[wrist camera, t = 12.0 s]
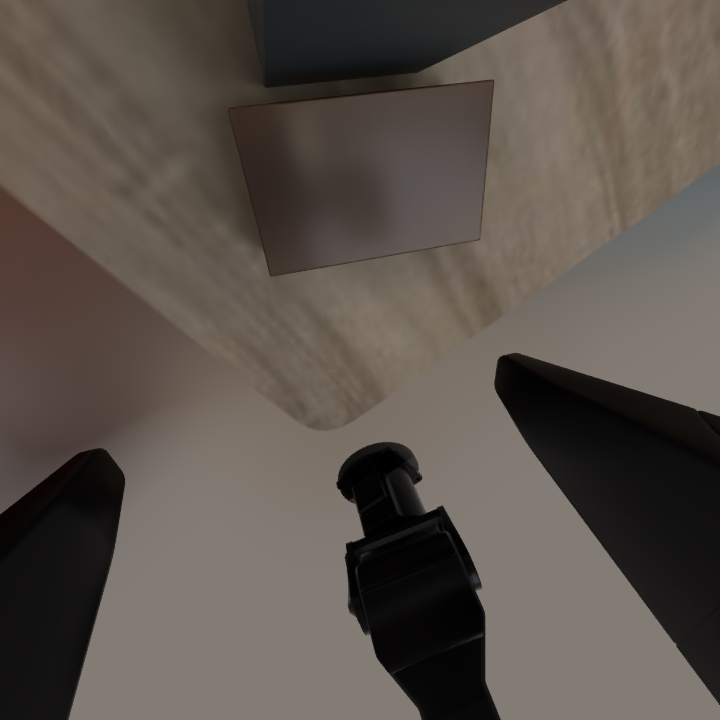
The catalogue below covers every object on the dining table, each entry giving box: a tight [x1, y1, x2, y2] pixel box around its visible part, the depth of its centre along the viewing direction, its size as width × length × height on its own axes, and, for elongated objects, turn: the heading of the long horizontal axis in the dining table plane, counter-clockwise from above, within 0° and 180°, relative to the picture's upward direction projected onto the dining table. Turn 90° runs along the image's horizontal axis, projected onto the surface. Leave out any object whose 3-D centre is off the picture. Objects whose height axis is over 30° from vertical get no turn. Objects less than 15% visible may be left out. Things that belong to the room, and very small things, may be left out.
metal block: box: [228, 80, 494, 276], centre depth 16 cm, size 6×10×4 cm, turn 96°
